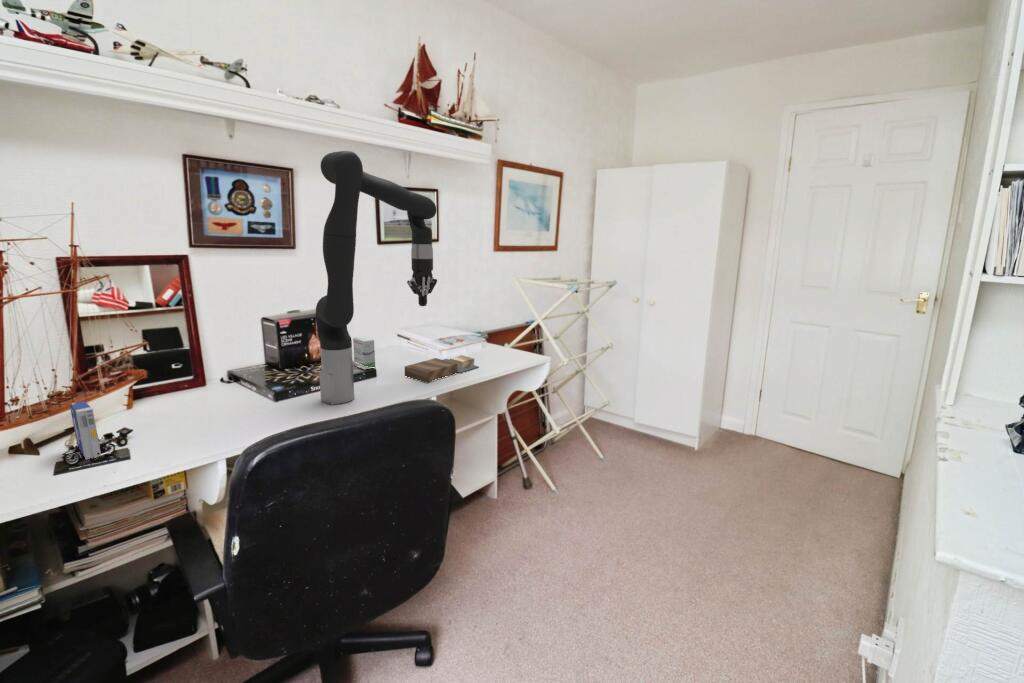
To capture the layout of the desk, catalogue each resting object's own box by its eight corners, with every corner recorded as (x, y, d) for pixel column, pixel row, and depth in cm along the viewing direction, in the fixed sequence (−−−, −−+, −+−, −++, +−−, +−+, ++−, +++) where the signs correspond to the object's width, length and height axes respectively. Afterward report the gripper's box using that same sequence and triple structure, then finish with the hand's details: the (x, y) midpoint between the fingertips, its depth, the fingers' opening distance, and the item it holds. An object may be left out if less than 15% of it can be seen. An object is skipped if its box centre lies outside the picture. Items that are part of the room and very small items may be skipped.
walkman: (77, 450, 113) (68, 402, 111) (93, 446, 115) (84, 399, 113) (85, 460, 109) (76, 410, 106) (101, 456, 111) (92, 407, 108)
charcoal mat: (460, 373, 183) (460, 372, 183) (427, 365, 193) (427, 363, 193) (478, 367, 192) (478, 366, 192) (446, 360, 202) (446, 358, 202)
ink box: (376, 368, 187) (375, 339, 184) (364, 371, 183) (363, 341, 181) (365, 364, 192) (363, 335, 190) (353, 366, 189) (352, 337, 186)
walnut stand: (427, 383, 171) (427, 372, 170) (404, 376, 177) (404, 366, 177) (457, 373, 183) (457, 363, 182) (435, 367, 190) (435, 358, 189)
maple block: (474, 358, 192) (474, 365, 193) (461, 355, 196) (461, 362, 197) (462, 361, 187) (462, 368, 188) (449, 358, 191) (449, 365, 192)
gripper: (415, 258, 160) (416, 309, 164) (443, 257, 170) (443, 305, 174) (400, 257, 164) (401, 306, 168) (428, 256, 175) (428, 303, 179)
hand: (422, 305), depth 171 cm, fingers closed
